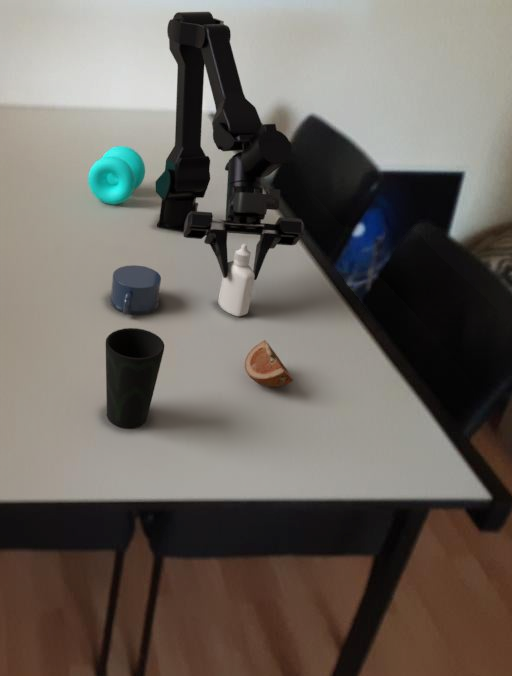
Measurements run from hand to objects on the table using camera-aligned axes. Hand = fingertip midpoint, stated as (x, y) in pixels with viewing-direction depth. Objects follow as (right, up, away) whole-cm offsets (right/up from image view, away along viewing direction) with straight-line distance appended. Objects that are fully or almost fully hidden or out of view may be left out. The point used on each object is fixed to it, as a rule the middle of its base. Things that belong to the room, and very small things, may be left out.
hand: (240, 278), depth 138 cm
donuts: (-17, +22, +43) cm, 51 cm away
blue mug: (-17, -3, +6) cm, 18 cm away
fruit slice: (+1, -17, -13) cm, 21 cm away
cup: (-20, -22, -21) cm, 36 cm away
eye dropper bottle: (0, -5, +5) cm, 7 cm away
